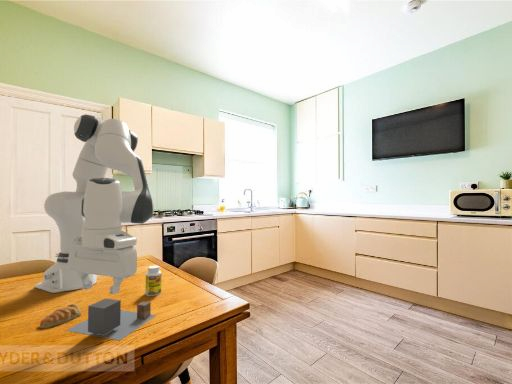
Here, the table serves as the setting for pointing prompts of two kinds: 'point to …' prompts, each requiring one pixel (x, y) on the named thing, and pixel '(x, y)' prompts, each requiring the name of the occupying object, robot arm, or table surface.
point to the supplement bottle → (153, 281)
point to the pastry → (61, 316)
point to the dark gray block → (104, 316)
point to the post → (143, 310)
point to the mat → (126, 327)
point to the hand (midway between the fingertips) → (100, 290)
